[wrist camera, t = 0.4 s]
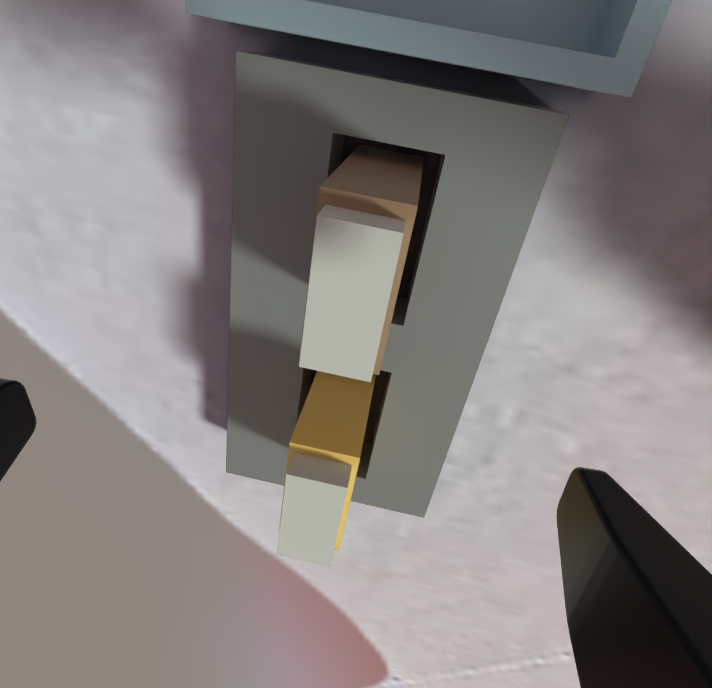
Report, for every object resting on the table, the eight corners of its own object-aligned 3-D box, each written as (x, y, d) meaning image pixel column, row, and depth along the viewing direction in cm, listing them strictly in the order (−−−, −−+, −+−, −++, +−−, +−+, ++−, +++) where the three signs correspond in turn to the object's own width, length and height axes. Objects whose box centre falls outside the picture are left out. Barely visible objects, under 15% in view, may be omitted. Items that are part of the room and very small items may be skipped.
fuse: (380, 349, 22) (355, 480, 15) (362, 431, 24) (333, 574, 17) (329, 338, 22) (281, 464, 15) (317, 421, 24) (270, 559, 17)
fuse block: (551, 108, 16) (569, 115, 14) (424, 479, 25) (424, 517, 23) (262, 53, 16) (236, 50, 14) (243, 438, 26) (226, 472, 23)
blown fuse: (423, 157, 17) (416, 217, 10) (395, 282, 20) (375, 395, 13) (359, 145, 17) (310, 196, 10) (340, 270, 20) (290, 377, 13)
